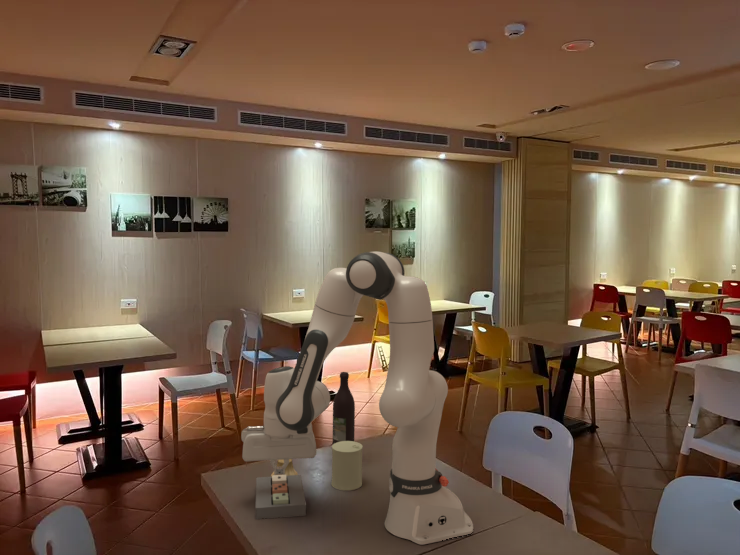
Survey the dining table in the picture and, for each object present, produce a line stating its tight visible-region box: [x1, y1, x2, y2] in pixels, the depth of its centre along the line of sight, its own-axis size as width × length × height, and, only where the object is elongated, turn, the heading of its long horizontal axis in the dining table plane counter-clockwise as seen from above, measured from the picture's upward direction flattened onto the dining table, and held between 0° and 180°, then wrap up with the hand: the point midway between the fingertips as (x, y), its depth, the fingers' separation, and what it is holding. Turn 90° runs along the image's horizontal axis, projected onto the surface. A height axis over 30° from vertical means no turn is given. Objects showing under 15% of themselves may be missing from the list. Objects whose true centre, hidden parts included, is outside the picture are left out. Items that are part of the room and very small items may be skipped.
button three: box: [272, 483, 287, 495], centre depth 157 cm, size 4×4×3 cm
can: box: [330, 440, 364, 492], centre depth 169 cm, size 9×9×12 cm
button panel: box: [255, 474, 307, 520], centre depth 157 cm, size 13×19×3 cm
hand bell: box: [270, 459, 299, 477], centre depth 173 cm, size 8×8×16 cm
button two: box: [273, 493, 288, 505], centre depth 151 cm, size 4×4×3 cm
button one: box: [272, 475, 287, 484], centre depth 163 cm, size 4×4×3 cm
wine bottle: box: [332, 371, 356, 445], centre depth 183 cm, size 7×7×30 cm
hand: (279, 474), depth 157 cm, fingers closed
